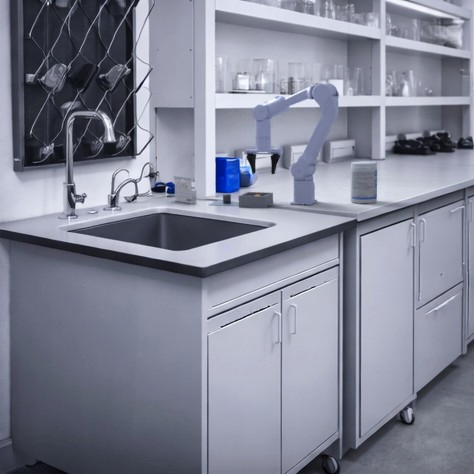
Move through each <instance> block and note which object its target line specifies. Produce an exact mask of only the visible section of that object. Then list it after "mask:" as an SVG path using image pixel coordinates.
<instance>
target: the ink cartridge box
mask: <svg viewBox="0 0 474 474" xmlns="http://www.w3.org/2000/svg"><path fill="white" fill-rule="evenodd" d="M173 180H174V198H175V199H174V201H175V202H179V203H180V202H181V203H186V204H191V205H192V204H197V189H192V178H191V177H183V176H176V175H175V176H173ZM181 180H182V181H181Z"/></svg>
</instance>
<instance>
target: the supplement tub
mask: <svg viewBox="0 0 474 474" xmlns="http://www.w3.org/2000/svg"><path fill="white" fill-rule="evenodd" d="M377 163H378V162H376V161H368V160H367V161H353V162H351V163H350V201H351V203H352V204H353V203H354V204H357V203H368V204H373V203H374V202H375V203H376V202H377V200H378V165H377Z"/></svg>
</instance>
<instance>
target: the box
mask: <svg viewBox="0 0 474 474" xmlns="http://www.w3.org/2000/svg"><path fill="white" fill-rule="evenodd" d="M255 195H260V196H255ZM238 201H239V205H238V207H241V208H261V209H263V208H264V209H265V208H268V207H269V206H271V205H273V204H274V192H263V191H246V192H244V193H243V194H239V195H238ZM272 203H273V204H272ZM270 204H271V205H270ZM268 205H269V206H268Z"/></svg>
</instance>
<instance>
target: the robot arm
mask: <svg viewBox="0 0 474 474" xmlns="http://www.w3.org/2000/svg"><path fill="white" fill-rule="evenodd" d="M339 97H340V94H339V91H338V89H337V87H336V86H335V85H334V84H333V83H318V84H316V85H311V86H308V87H306V88H304V89H302V90H300V91H297V92H296V93H294V94H291V95H289V96H287V97H285V96H282V95H281V96H280V95H276V96H274V99H272V100H269V101H267V100H266V101H265V102H263V104H257V105H256V106H254V107H253V110H252V113H251V114H252V117H253V119H254V124H255V125H254V128H255V130H254V134H255V136H254V137H255V139H254V141H255V148H245V149H244V150H243V155H246V156H245V158H246V159H247V161H248V163H249V166H250V170H251V173H252V175H255V174H256V172H257V169H256V166H257V165H256V162H257V155H270V161H271V162H270V164H271V171H270V172H271V175H274V174H276V169H277V166H278V162H279V160H280V158H281V156H282V155H283V149H281V148H272V146H271V145H272V144H271V143H272V139H271V137H272V136H271V135H272V134H271V133H272V132H271V130H272V128H271V119H272V118H273V117H276V116H278V115H281V114H283V113H285V112H287V111H288V110H289V108H290V106H293V105H296V104H299V103H301V102H303V101H306V100H314V101H315V103H317V105H318V106H319V108H320V110H321V113H322V114H321V116H320V118H319V120H318V122H317V124H316V126H315V128H314V130H313V132H312V134H311V136H310V138H309V140H308V142H307V145H306V147H305V149H304V151H303V152H302V154H301V155H300V156H299V157H298V158H297V161H295V163H293V164H292V165H291V169H290V173H291V175H292V178H293V201H291V202H290V205H304V204H306V205H308V206H309V205H310V206H312V205H313V204H315V203H316V202H318V199H316V198H315V194H316V191H315V188H316V186H315V182H314V176H313V175H314V174H315V173H316V169H317V168H316V167H317V166H316V165H317V163H318V156H319V154H320V152H321V150H322V148H323V146H324V144H325V143H326V140H327V138H328V136H329V133H330V132H331V130H332V128H333V126H334V124H335V122H336V120H337V117H338V116H339V108H340V107H339Z"/></svg>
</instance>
